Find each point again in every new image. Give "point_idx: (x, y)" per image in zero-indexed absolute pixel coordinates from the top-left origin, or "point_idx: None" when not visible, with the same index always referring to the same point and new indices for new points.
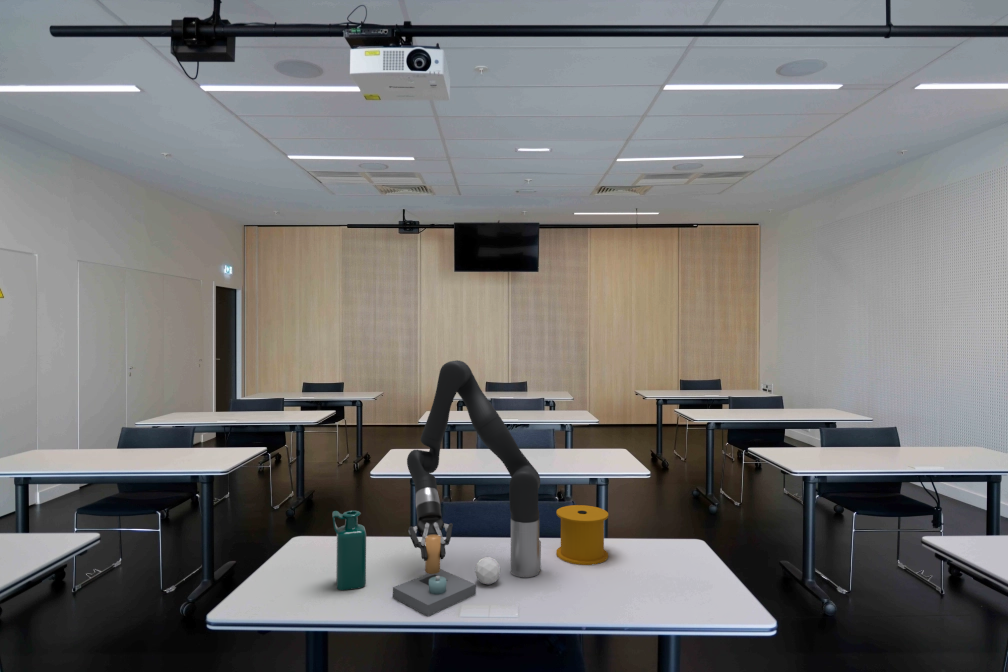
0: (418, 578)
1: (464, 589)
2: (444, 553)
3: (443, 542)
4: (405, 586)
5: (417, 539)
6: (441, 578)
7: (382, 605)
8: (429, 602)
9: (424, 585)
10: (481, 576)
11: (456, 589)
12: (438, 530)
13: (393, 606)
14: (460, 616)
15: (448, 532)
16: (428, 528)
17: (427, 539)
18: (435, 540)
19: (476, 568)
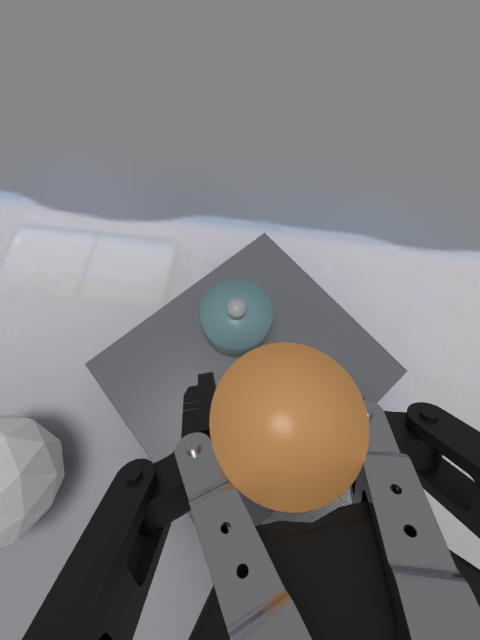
0: None
1: (137, 326)
2: (192, 391)
3: (187, 444)
4: (359, 371)
5: (442, 439)
6: (220, 324)
7: (404, 326)
8: (261, 247)
9: None
10: (41, 426)
11: (166, 326)
12: (232, 558)
13: (369, 316)
14: (173, 243)
15: (100, 566)
16: (393, 570)
17: (341, 369)
18: (261, 347)
19: (39, 470)
